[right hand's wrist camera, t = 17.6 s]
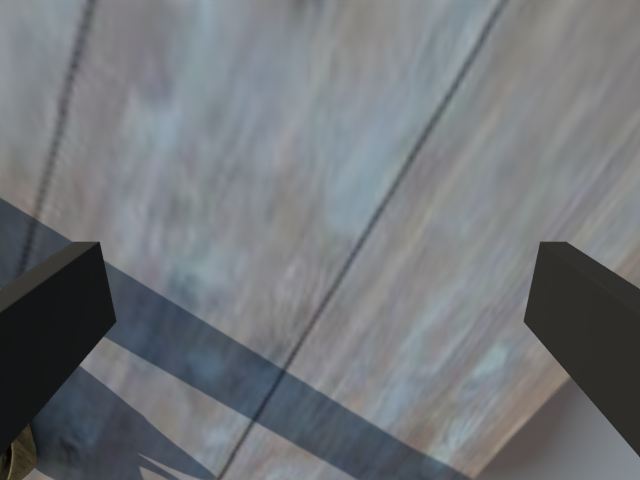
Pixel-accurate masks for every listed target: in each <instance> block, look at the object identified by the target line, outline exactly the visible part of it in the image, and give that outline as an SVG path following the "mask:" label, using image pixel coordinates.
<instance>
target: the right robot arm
mask: <svg viewBox="0 0 640 480" xmlns="http://www.w3.org/2000/svg"><path fill="white" fill-rule="evenodd" d="M115 322H116V317H115V312H114V308H113V303H112V298H111V293H110V289H109V284H108V279H107V274H106V270H105V265H104V260H103V255H102V251H101V246H100V242H73V243H71V244H70V245H68V246H67V247H65V248H63V249H62V250H60V251H59V252H57V253H56V254H54V255H53V256H51V257H49V258H48V259H46V260H45V261H43V262H42V263H40V264H39V265H37V266H35V267H34V268H32V269H31V270H29V271H28V272H26V273H25V274H23V275H21V276H20V277H18V278H17V279H15V280H14V281H12V282H11V283H9V284H7V285H6V286H4V287H3V288H1V289H0V457H1V456H2V454H3V453H4V452H5V451H6V450H7V449H8V447H9V446H10V445H11V444H12V443H13V442H14V440H15V439H16V438H17V437H18V436H19V435H20V433H21V432H22V431H23V430H24V429H25V428H26V426H27V425H28V424H29V423H30V422H31V421H32V419H33V418H34V417H35V416H36V415H37V414H38V412H39V411H40V410H41V409H42V408H43V407H44V405H45V404H46V403H47V402H48V401H49V400H50V398H51V397H52V396H53V395H54V394H55V393H56V391H57V390H58V389H59V388H60V387H61V386H62V384H63V383H64V382H65V381H66V380H67V379H68V377H69V376H70V375H71V374H72V373H73V372H74V370H75V369H76V368H77V367H78V366H79V365H80V363H81V362H82V361H83V360H84V359H85V358H86V356H87V355H88V354H89V353H90V352H91V351H92V349H93V348H94V347H95V346H96V345H97V344H98V342H99V341H100V340H101V339H102V338H103V337H104V335H105V334H106V333H107V332H108V331H109V329H110V328H111V327H112V326H113V325H114V324H115ZM524 322H525V324H526V325H527V326H528V327H529V328H530V329H531V331H532V332H533V333H534V334H535V335H536V337H537V338H538V339H539V340H540V341H541V342H542V344H543V345H544V346H545V347H546V348H547V349H548V351H549V352H550V353H551V354H552V355H553V356H554V358H555V359H556V360H557V361H558V362H559V363H560V365H561V366H562V367H563V368H564V369H565V370H566V372H567V373H568V374H569V375H570V376H571V377H572V379H573V380H574V381H575V382H576V383H577V384H578V386H579V387H580V388H581V389H582V390H583V391H584V393H585V394H586V395H587V396H588V397H589V398H590V400H591V401H592V402H593V403H594V404H595V405H596V407H597V408H598V409H599V410H600V411H601V412H602V414H603V415H604V416H605V417H606V418H607V419H608V421H609V422H610V423H611V424H612V425H613V426H614V428H615V429H616V430H617V431H618V432H619V433H620V435H621V436H622V437H623V438H624V439H625V440H626V442H627V443H628V444H629V445H630V446H631V447H632V449H633V450H634V451H635V452H636V453H637V454H638V456H639V457H640V289H639V288H637V287H636V286H634V285H633V284H631V283H629V282H628V281H626V280H625V279H623V278H622V277H620V276H619V275H617V274H615V273H614V272H612V271H611V270H609V269H608V268H606V267H605V266H603V265H601V264H600V263H598V262H597V261H595V260H594V259H592V258H591V257H589V256H587V255H586V254H584V253H583V252H581V251H580V250H578V249H577V248H575V247H573V246H572V245H570V244H569V243H567V242H540V246H539V251H538V255H537V260H536V265H535V270H534V274H533V279H532V284H531V289H530V293H529V298H528V303H527V308H526V312H525V317H524Z"/></svg>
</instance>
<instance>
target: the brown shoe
mask: <svg viewBox="0 0 640 480" xmlns="http://www.w3.org/2000/svg"><path fill="white" fill-rule="evenodd" d="M37 460H38V459H37V453H36V448H35V443H34V440H33V436H32V432H31V428H30V425H29V424H28V425H27V426H26V428H25V429H24V430H23V431H22V432H21V433H20V435H19V436H18V437H17V438H16V439H15V440H14V442H13V443H12V444H11V445H10V446H9V447H8V449H7V450H6V451H5V452H4V453H3V454H2V456H1V457H0V480H22V479H23V478H24V477H26V476H27V475H28V474H29V473H30V472H31V471H32V470H33V469H34V467H35V466H36V464H37Z"/></svg>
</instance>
